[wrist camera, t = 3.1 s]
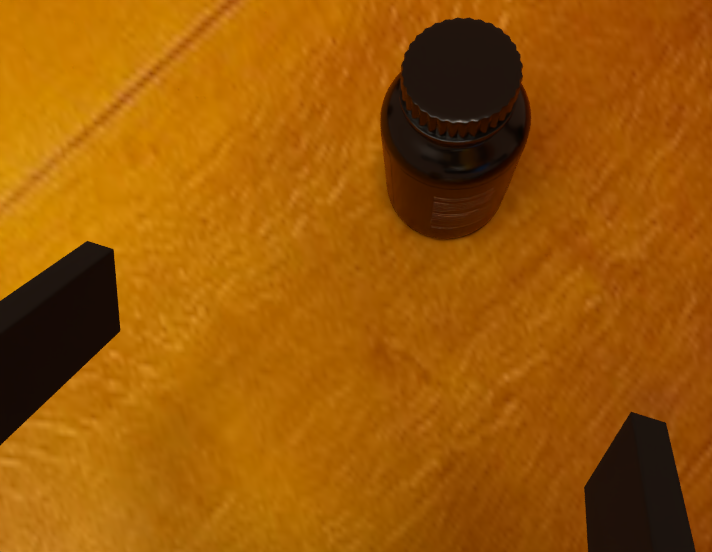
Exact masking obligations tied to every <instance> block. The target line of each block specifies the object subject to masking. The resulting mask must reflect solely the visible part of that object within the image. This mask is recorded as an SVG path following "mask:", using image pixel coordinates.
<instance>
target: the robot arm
mask: <svg viewBox="0 0 712 552" xmlns="http://www.w3.org/2000/svg"><path fill="white" fill-rule="evenodd" d="M119 332H120V321H119V309H118V297H117V285H116V273H115V261H114V250H113V249H111V248H108V247H105V246H102V245H98V244H95V243H92V242H89V241H87V242H85V243H84V244H82V245H81V246H79V247H78V248H76V249H75V250H74V251H72V252H71V253H69V254H68V255H66V256H65V257H63V258H62V259H60V260H59V261H58V262H56V263H55V264H53V265H52V266H50V267H49V268H47V269H46V270H45V271H43V272H42V273H40V274H39V275H37V276H36V277H34V278H33V279H31V280H30V281H29V282H27V283H26V284H24V285H23V286H21V287H20V288H18V289H17V290H16V291H14V292H13V293H11V294H10V295H8V296H7V297H5V298H4V299H2V300H1V301H0V445H1V444H2V443H3V442H4V441H5V440H6V439H7V438H8V437H9V436H10V435H12V434H13V433H14V432H15V431H16V430H17V429H18V428H19V427H20V426H21V425H22V424H23V423H24V422H25V421H26V420H27V419H28V418H29V417H30V416H31V415H33V414H34V413H35V412H36V411H37V410H38V409H39V408H40V407H41V406H42V405H43V404H44V403H45V402H46V401H47V400H48V399H49V398H50V397H51V396H52V395H54V394H55V393H56V392H57V391H58V390H59V389H60V388H61V387H62V386H63V385H64V384H65V383H66V382H67V381H68V380H69V379H70V378H71V377H72V376H74V375H75V374H76V373H77V372H78V371H79V370H80V369H81V368H82V367H83V366H84V365H85V364H86V363H87V362H88V361H89V360H90V359H91V358H92V357H93V356H95V355H96V354H97V353H98V352H99V351H100V350H101V349H102V348H103V347H104V346H105V345H106V344H107V343H108V342H109V341H110V340H111V339H112V338H113V337H115V336H116V335H117V334H118V333H119ZM584 489H585V506H586V523H587V539H588V552H696V551H695V547H694V543H693V538H692V534H691V530H690V525H689V521H688V517H687V512H686V508H685V504H684V499H683V495H682V491H681V486H680V482H679V478H678V473H677V469H676V465H675V460H674V456H673V452H672V447H671V443H670V439H669V434H668V430H667V426H666V423H665V422H662V421H658V420H655V419H652V418H649V417H646V416H642V415H639V414H636V413H633V412H631V413H630V414H629V416H628V418H627V419H626V421H625V422H624V424H623V426H622V427H621V429H620V430H619V432H618V434H617V435H616V437H615V439H614V440H613V442H612V443H611V445H610V447H609V448H608V450H607V451H606V453H605V455H604V456H603V458H602V459H601V461H600V463H599V464H598V466H597V468H596V469H595V471H594V472H593V474H592V476H591V477H590V479H589V480H588V482H587V484H586V485H585V487H584Z"/></svg>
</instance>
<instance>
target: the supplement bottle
mask: <svg viewBox="0 0 712 552" xmlns="http://www.w3.org/2000/svg"><path fill="white" fill-rule="evenodd" d="M522 68H523V65H522V63H521V61H520V54H519V52H518V51H517V50H516V45H515V44H514V43H513V42H511V39H510V37H509V36H508V35H506V34H504V33H503V31H502V30H501V29H500V28H496V27H495V26H494V25H493V24H492V23H485V22H484V21H482V20H474V19H471V18H465V19H462V18H455V19H453V20H444V21H443V22H441V23H435V24H434V25H433V26H432V27H429V28H426V29H425V30H424V31H423V33H421V34H419V35H417V36H416V38H415V41H413V42H412V43H411V44H410V45H409V50H408V51H407V52H406V53H405V54H404V61H403V63H402V65H401V72H400V73H399V74H398V76H397V77H396V78H395V79H394V81H393V82H392V83H391V85H390V87H389V88H388V91H387V93H386V95H385V98H384V100H383V104H382V108H381V137H382V146H383V155H384V164H385V174H386V183H387V190H388V195H389V198H390V201H391V204H392V206H393V208H394V210H395V212H396V213H397V215H398V216H399V217H400V218H401V220H402V221H403V222H404V223H406V224H407V225H408V226H409V227H411V228H412V229H414V230H415V231H417V232H419V233H421V234H424V235H427V236H430V237H435V238H456V237H461V236H465V235H468V234H470V233H472V232H474V231H476V230H478V229H479V228H481V227H482V226H484V225H485V224H486V223H487V222H488V221H489V220H490V219H491V218H492V217H493V216H494V214H495V213H496V211H497V210H498V208H499V206H500V204H501V202H502V200H503V198H504V195H505V193H506V190H507V188H508V186H509V183H510V181H511V178H512V176H513V173H514V171H515V169H516V166H517V164H518V161H519V159H520V157H521V154H522V152H523V149H524V147H525V144H526V142H527V138H528V135H529V131H530V125H531V109H530V103H529V100H528V96H527V94H526V91H525V89H524V87H523V85H522V83H521V82H522V78H523V75H522V72H521V71H522Z"/></svg>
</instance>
